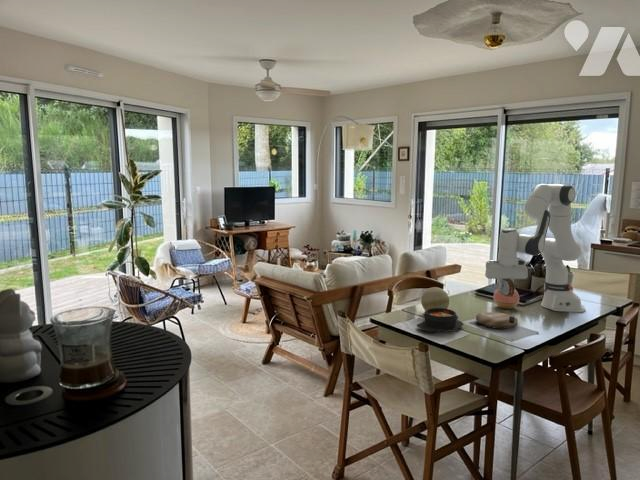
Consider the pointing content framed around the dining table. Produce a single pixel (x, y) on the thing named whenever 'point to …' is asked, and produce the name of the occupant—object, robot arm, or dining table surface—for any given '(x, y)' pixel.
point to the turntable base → (498, 327)
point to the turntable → (496, 319)
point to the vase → (506, 300)
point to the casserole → (440, 320)
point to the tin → (506, 287)
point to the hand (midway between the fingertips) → (505, 287)
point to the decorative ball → (435, 298)
